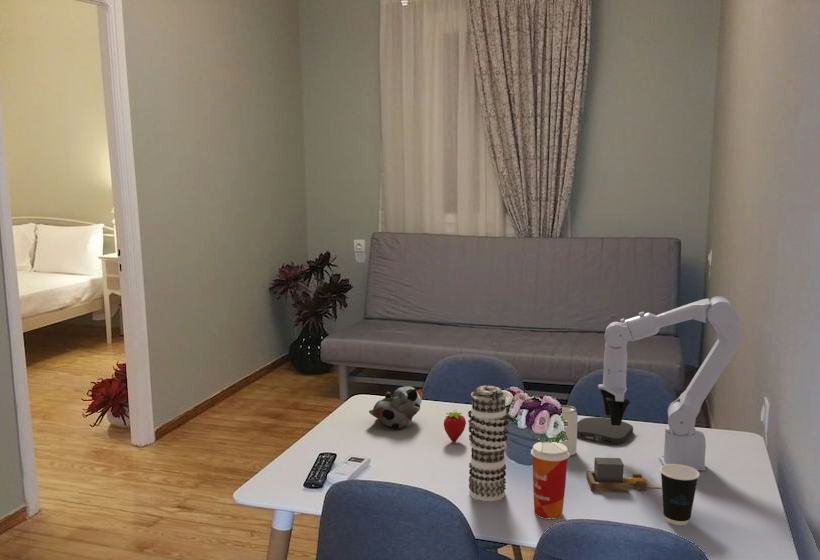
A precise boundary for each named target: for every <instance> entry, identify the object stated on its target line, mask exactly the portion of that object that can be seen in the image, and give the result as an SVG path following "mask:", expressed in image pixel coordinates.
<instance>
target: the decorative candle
mask: <svg viewBox="0 0 820 560" xmlns="http://www.w3.org/2000/svg"><path fill="white" fill-rule="evenodd" d="M470 397H472V400H471V403H472V405H471V407H470V410H469V411H467V414H468V415H467V416H468V417H469V419H468V432H469V433H470V434H469V435H468V438H469V439H468V440H469V446H470V447H471V448H470V449H471V450H470V451H471V455H470V462H469V463H468V468H469V470H468V474H469V477H468V482H469V483H468V494H469V496H470V497H471V498H473V499H475V500H477V501H483V502H495V500H496V501H500V500H502V499H504V498H505V497H506V489H507V488H506V484H507V481H506V480H507V479H506V475H507V473H506V469H507V465H506V457H505V449H506V448H507V442H506V441H507V440H508V435H507V434H508V433H509V430H508V428H506V427H507V426H508V425H509V420H508V419H509V418H510V415H509V414H508V413H507V408H506V398H507V394H506V393H504V392H503V390H502V389H501V388H500V387H499V386H495V385H480V386H478V387H476V389H474V391H472V392H471V393H470ZM503 497H504V498H503ZM501 498H502V499H501ZM499 499H500V500H499Z"/></svg>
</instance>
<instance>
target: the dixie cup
mask: <svg viewBox="0 0 820 560" xmlns="http://www.w3.org/2000/svg"><path fill="white" fill-rule="evenodd" d="M659 472H660V477H661V487H662V488H661V492H662V494H661V495H662V506H663V507H662V509H663V512H662V513H663V515H664V520H665V521H666V522H667V523H669V524H672V525H675V526H686V525H688V524H689V521H690V519H691V517H692V511H693V506H694V501H695V494H696V488H697V485H698V484H697V483H698V479H699V477H700V471H699V470H696V469H694V468H692V467H689V466H686V465H680V464H667V465H662V466H660V468H659Z"/></svg>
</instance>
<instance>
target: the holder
mask: <svg viewBox="0 0 820 560" xmlns="http://www.w3.org/2000/svg"><path fill="white" fill-rule="evenodd" d="M585 478H586V481H587V484H588V487H589V489H590V491H591V492H611V493H613V492H616V493H629V492H630V490H629V488H636V491H647V489H662V484H660V483H648V484H647V485H646V482H645V481H637V484H636V485H630V484H628V483H613V482H595V480H594V470H586V475H585ZM632 478H643V475H642V474H640V473H638V474H637V473H633V474H632Z"/></svg>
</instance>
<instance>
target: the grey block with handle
mask: <svg viewBox="0 0 820 560" xmlns="http://www.w3.org/2000/svg"><path fill="white" fill-rule="evenodd" d="M593 464H594V465H593V471H594V480H595V482H613V483H628V484H630V485H636V484H637V481H645V482H646V485H647V484H649V479H648V478H646V477H642V478H633V477H629V476H628V477H627V476H626V477H624V471H625V470H624V468H625V465H624V463H623V461H622V459H621V458H620V457H596V456H595V457H594V463H593Z"/></svg>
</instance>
